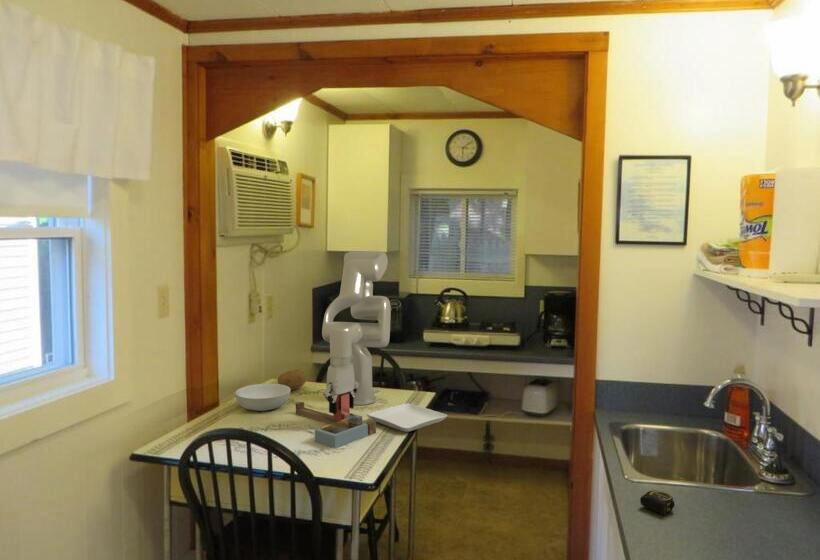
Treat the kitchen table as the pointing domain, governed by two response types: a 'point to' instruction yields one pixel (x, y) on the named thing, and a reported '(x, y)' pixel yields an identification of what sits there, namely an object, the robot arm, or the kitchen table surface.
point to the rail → (328, 417)
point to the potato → (292, 379)
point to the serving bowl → (263, 396)
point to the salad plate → (406, 417)
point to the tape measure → (658, 501)
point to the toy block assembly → (343, 414)
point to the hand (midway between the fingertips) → (341, 410)
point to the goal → (341, 436)
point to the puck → (338, 430)
